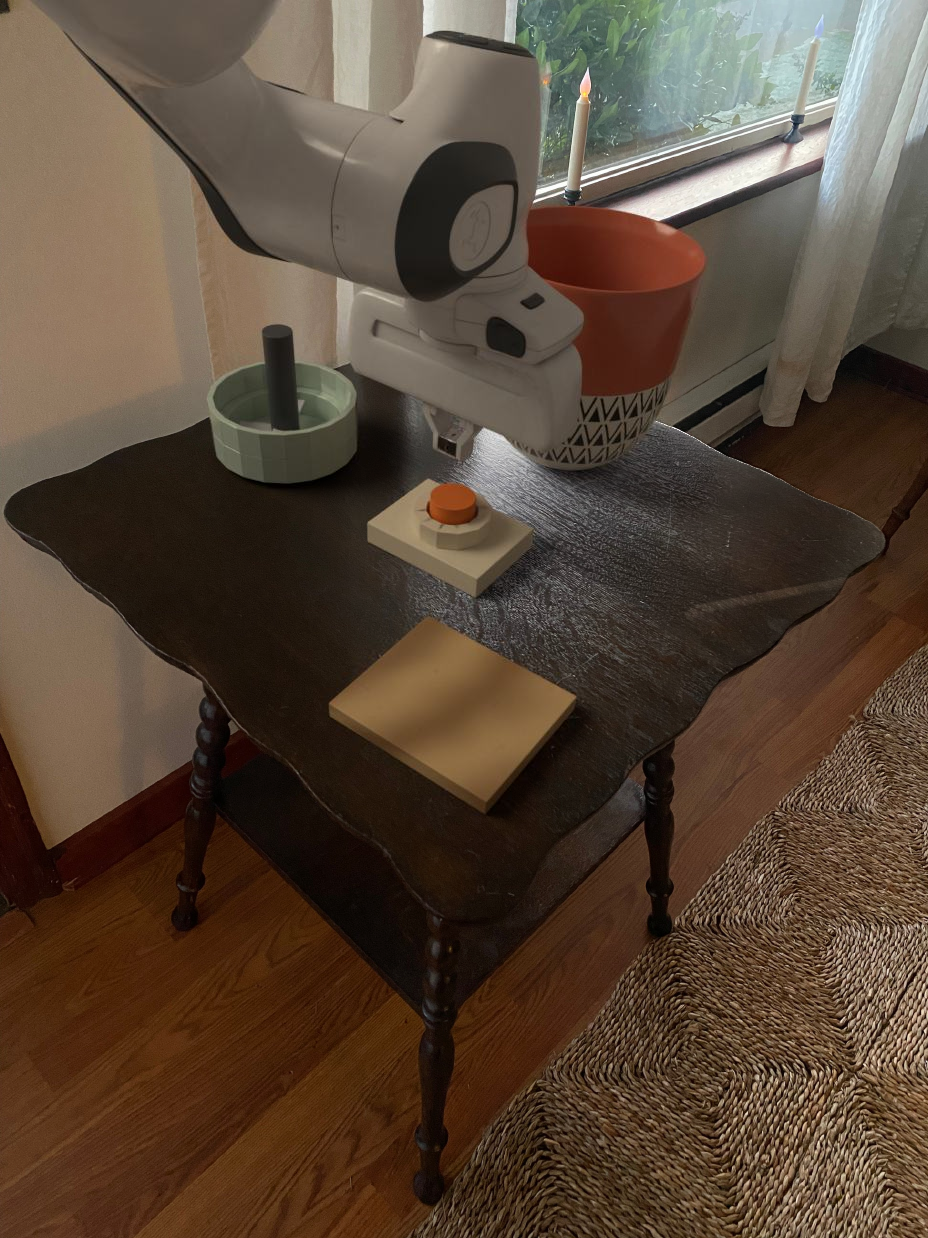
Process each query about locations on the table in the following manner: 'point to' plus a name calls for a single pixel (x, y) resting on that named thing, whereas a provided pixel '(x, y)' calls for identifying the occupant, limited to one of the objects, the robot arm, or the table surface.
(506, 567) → the base
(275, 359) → the blade
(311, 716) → the table surface
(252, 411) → the processor bowl
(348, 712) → the cutting board
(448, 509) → the release button
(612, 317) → the planter
